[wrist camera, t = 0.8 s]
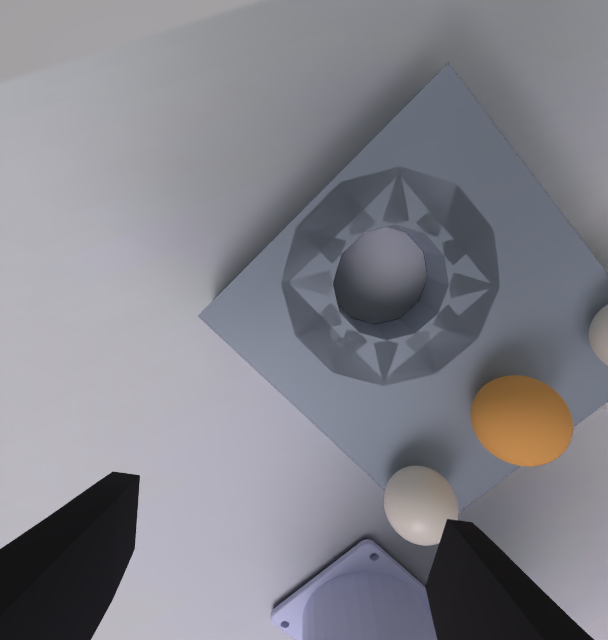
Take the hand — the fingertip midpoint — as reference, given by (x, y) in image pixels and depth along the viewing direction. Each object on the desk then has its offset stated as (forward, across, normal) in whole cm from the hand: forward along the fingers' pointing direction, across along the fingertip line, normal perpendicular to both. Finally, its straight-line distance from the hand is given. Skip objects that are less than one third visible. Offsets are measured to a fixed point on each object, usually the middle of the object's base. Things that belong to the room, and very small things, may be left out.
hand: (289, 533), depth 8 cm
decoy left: (+6, -6, +3) cm, 9 cm away
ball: (+6, -9, -1) cm, 10 cm away
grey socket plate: (+10, -5, -4) cm, 12 cm away
